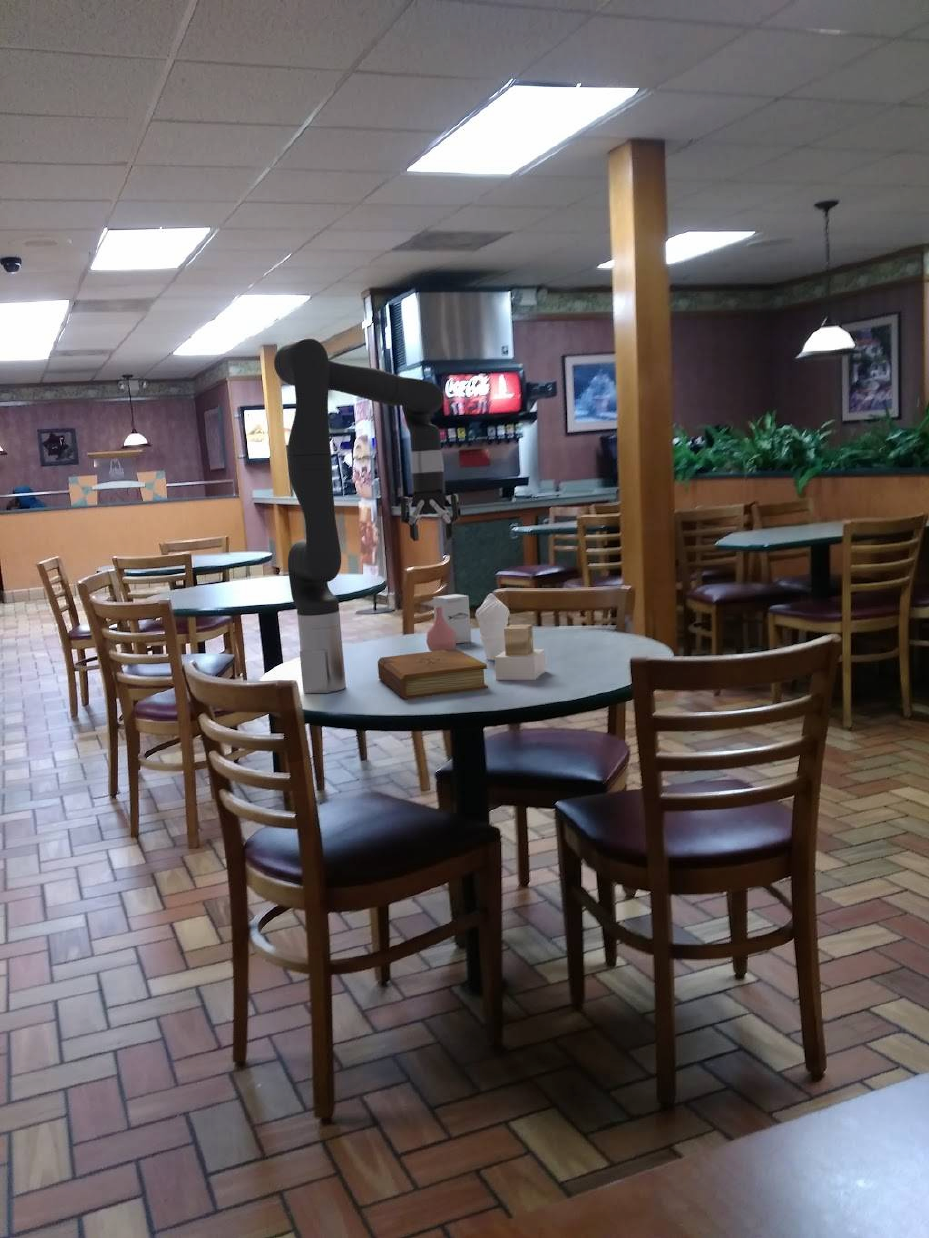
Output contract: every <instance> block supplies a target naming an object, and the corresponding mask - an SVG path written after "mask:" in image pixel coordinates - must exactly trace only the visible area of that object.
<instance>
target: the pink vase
mask: <svg viewBox="0 0 929 1238" xmlns="http://www.w3.org/2000/svg"><path fill="white" fill-rule="evenodd" d="M436 614H437V617H436V620H435V619H434V622H433V625H432V626H431V628H429V629H428V631H427V633H426V645H427V648H428V651H429V652H431V651H440V650H448V649H456V644H457V643H456V636H455V632H454V630H453V629H452V628H451V627H450V626H449V625H448V624H447V623H446V621H445V620H444V618H443V615H442V607H436Z"/></svg>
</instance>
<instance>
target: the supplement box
mask: <svg viewBox="0 0 929 1238" xmlns="http://www.w3.org/2000/svg"><path fill="white" fill-rule="evenodd" d="M469 599H470V598H469V595H466V594H465V595H464V594H460V593H459V594H458V593H455V594H453V593H452V594H446V595H440V596H439V595H438V596H433V597H432V601H433V615H434V616H433V618H434V621H435V620H436V617H437V614H436V607H442V615H443V618H444V620H445V621H446V623H447V624H448V625H449V626H450V627H451V628H452V629H453V630H454V632H455V636H456V644H461V643H463V644H464V643H470V642H472V629H471V617H470V616H471V615H470V614H471V613H470V600H469Z"/></svg>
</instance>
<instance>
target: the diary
mask: <svg viewBox="0 0 929 1238" xmlns="http://www.w3.org/2000/svg"><path fill="white" fill-rule="evenodd" d="M487 669H488V665H487V664H486V663H484V662H483V661H480V660H479V659H477V658H475V657H473V656H471V655H469V654H467V653H465V652H464V651H461V650H459V649H457V648H455V649H448V650H440V651H426V652H425V651H424V652H416V653H407V654H400V655H391V656H384V657H380V658H379V659H378V660H377V672H378V679H379V680H381V682H383V683H384V684H385V685H386V686H388V687H389V688H390V689H391V690H393V691H394V692H395V693H397V695H398V696H400V697H401V698H403V699H404V700H409V699H410V700H412V699H418V698H419V697H420V698H426V697H425V696H427V697H433V696H432V695H435V696H441V694H442V695H449V694H455V693H457V694H458V693H463V692H470V691H471V692H472V691H478V690H479V691H480V690H485V689H489V685H487V684H486V683H485V671H484V670H487ZM411 698H412V699H411Z"/></svg>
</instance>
